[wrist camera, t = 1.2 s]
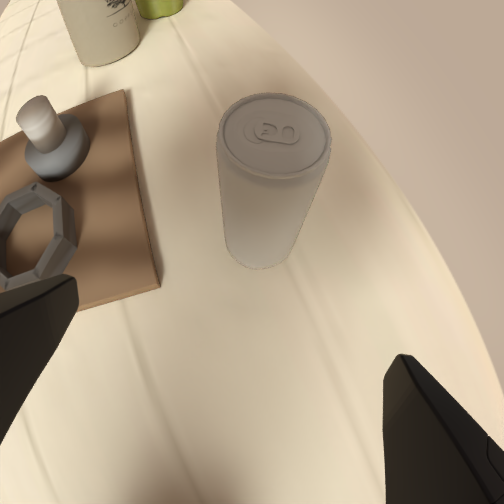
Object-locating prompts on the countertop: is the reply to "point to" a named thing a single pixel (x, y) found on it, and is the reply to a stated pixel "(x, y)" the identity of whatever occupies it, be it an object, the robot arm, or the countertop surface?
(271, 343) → the countertop surface
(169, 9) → the plant pot
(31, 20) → the countertop surface
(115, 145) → the pin board
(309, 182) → the beverage can
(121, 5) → the travel mug
